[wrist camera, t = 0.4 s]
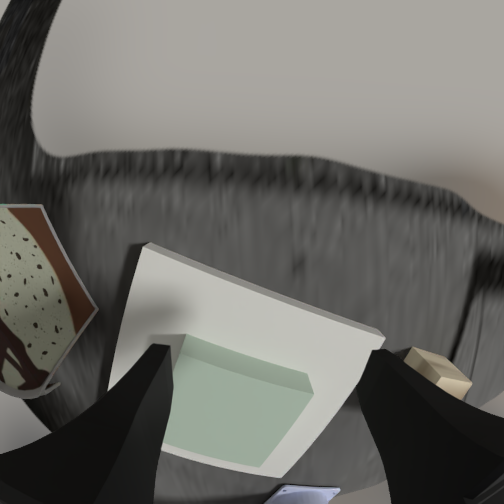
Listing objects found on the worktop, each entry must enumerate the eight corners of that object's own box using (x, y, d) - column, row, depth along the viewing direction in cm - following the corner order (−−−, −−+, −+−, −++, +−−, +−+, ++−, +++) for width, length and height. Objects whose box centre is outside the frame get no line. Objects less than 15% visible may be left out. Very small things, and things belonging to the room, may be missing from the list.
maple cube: (416, 397, 23) (439, 427, 18) (382, 391, 23) (404, 426, 18) (444, 356, 22) (472, 383, 17) (411, 346, 22) (441, 376, 17)
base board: (279, 467, 24) (283, 496, 20) (107, 416, 22) (93, 443, 18) (377, 329, 21) (400, 354, 17) (149, 242, 19) (128, 255, 15)
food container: (-3, 228, 18) (-85, 253, 8) (35, 188, 18) (-62, 198, 8) (64, 350, 21) (3, 418, 11) (110, 325, 20) (44, 405, 10)
